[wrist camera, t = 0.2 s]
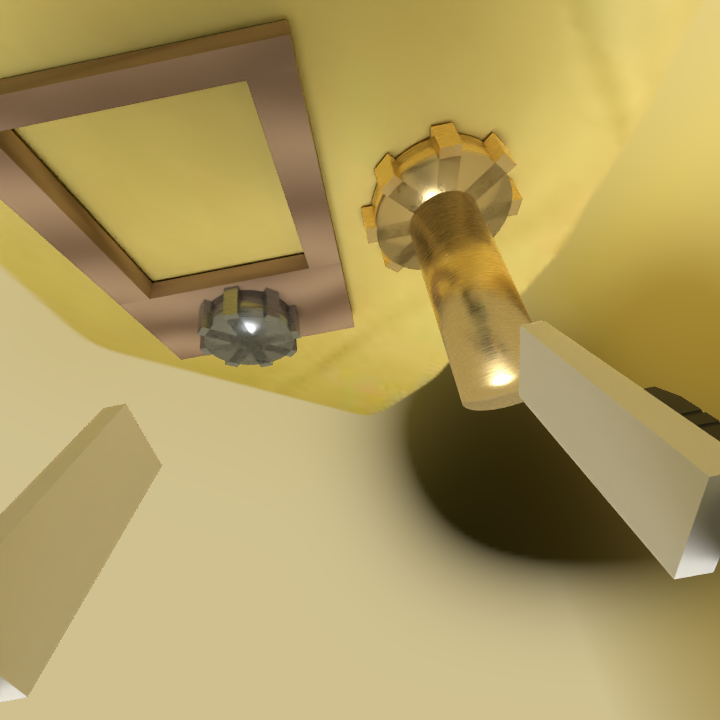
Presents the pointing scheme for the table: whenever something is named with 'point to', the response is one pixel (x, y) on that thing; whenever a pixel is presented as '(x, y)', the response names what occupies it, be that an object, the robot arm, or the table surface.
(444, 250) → the planet gear
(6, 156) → the plate
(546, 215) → the table surface
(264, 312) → the sun gear
